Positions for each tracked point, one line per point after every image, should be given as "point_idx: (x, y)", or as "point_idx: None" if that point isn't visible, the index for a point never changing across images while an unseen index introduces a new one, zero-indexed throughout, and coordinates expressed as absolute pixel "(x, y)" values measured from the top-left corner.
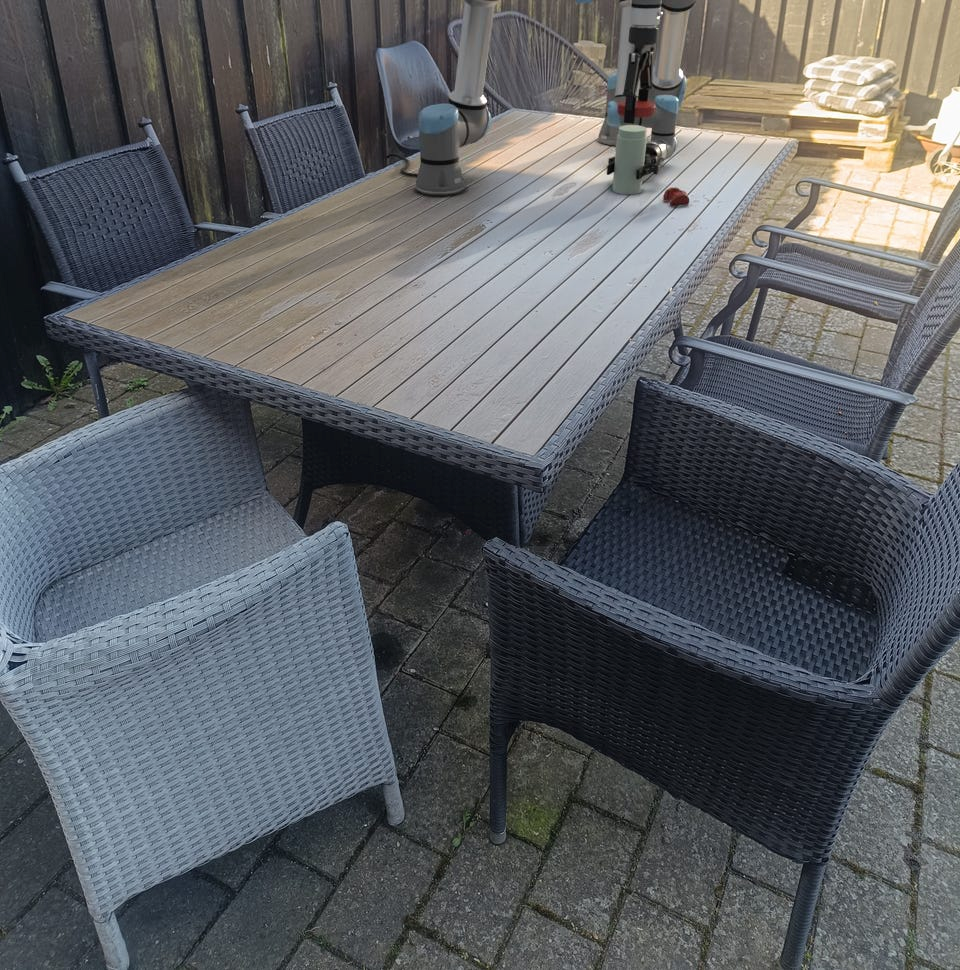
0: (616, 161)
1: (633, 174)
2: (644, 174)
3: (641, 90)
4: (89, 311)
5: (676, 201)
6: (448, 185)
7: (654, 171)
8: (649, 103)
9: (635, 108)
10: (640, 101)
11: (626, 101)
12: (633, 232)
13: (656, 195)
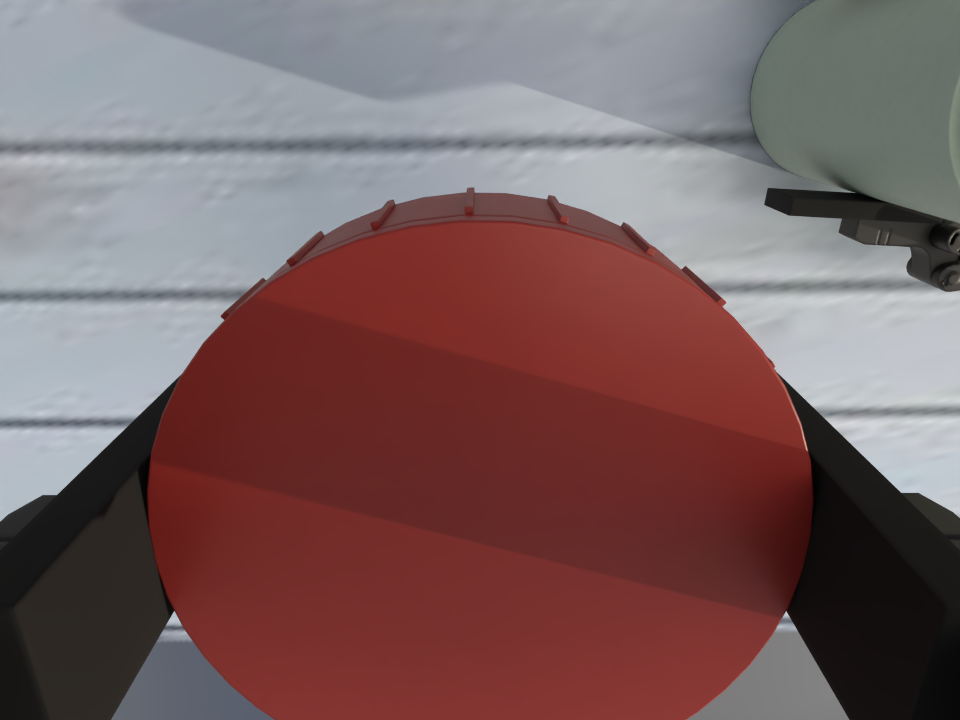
0: (886, 1)
1: (812, 158)
2: (842, 222)
3: (912, 648)
4: None
5: None
6: None
7: (916, 265)
8: (601, 695)
9: (161, 615)
10: (707, 545)
11: (25, 550)
12: (175, 355)
13: (788, 278)
